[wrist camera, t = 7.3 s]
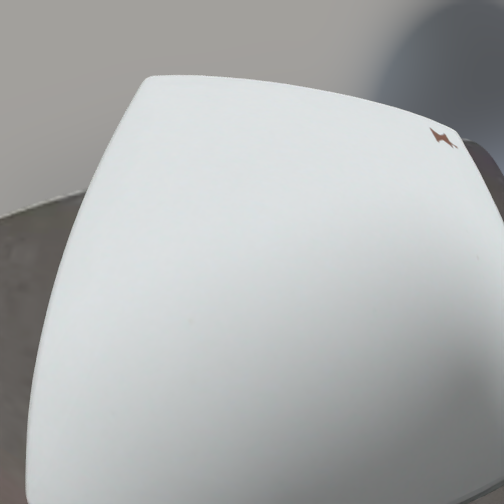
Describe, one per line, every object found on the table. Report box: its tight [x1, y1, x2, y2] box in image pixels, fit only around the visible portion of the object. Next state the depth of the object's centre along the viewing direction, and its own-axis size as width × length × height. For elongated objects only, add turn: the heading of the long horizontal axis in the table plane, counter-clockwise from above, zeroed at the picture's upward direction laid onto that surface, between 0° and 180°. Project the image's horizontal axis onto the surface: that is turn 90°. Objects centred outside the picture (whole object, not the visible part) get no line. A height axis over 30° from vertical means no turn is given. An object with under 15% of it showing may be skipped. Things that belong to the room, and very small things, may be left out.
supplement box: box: [26, 75, 504, 504], centre depth 9 cm, size 7×7×13 cm
